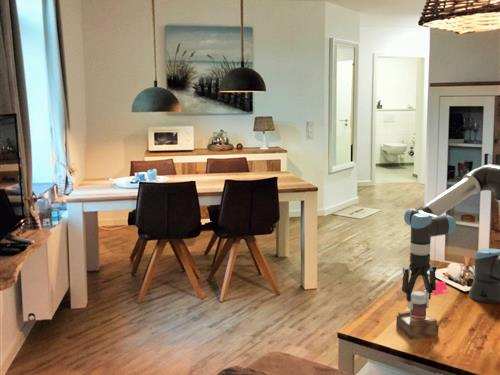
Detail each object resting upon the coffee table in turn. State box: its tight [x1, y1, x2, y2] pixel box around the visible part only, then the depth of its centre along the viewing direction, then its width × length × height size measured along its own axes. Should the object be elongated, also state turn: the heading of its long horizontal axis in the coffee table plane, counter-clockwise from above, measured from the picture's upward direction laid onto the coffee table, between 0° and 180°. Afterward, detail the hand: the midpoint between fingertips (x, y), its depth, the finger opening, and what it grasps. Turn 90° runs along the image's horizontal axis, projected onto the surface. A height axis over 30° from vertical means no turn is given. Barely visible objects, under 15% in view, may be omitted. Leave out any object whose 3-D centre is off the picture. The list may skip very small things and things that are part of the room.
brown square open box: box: [395, 310, 440, 340], centre depth 218 cm, size 12×12×6 cm
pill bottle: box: [409, 290, 427, 321], centre depth 217 cm, size 6×6×11 cm
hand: (418, 307), depth 217 cm, fingers open, 6 cm apart
